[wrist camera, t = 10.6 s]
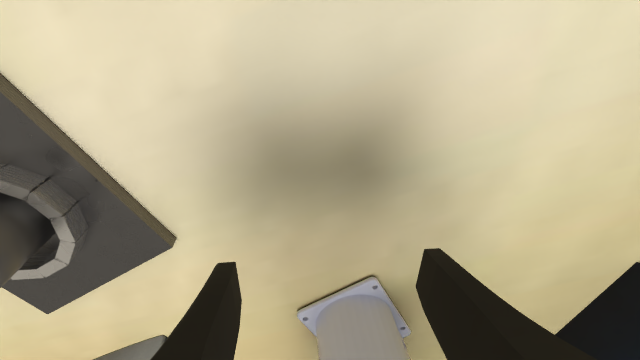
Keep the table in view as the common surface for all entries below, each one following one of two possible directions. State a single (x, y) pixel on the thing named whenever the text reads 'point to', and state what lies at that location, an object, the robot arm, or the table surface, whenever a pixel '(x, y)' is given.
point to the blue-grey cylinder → (20, 234)
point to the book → (610, 321)
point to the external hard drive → (137, 350)
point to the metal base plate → (69, 210)
